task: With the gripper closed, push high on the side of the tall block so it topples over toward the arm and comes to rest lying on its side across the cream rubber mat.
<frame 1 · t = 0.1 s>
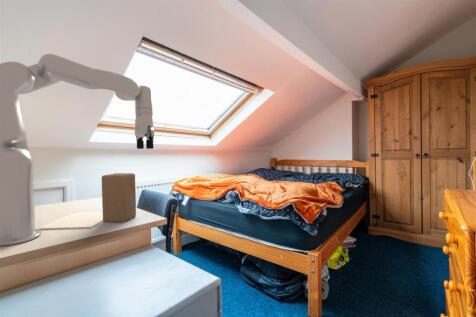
hand: (145, 148, 109), 31 cm above the table, tool pointing down, fingers open, 9 cm apart
block: (120, 219, 101), on the table
mat: (82, 220, 100), on the table
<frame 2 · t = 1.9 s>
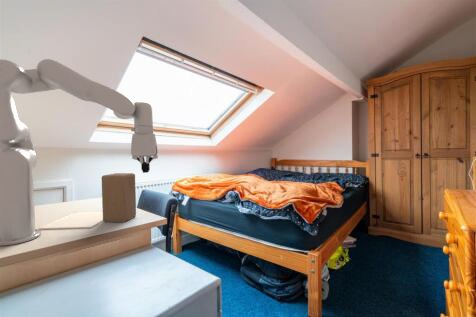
hand: (145, 172, 102), 21 cm above the table, tool pointing down, fingers closed
nothing on the table moved.
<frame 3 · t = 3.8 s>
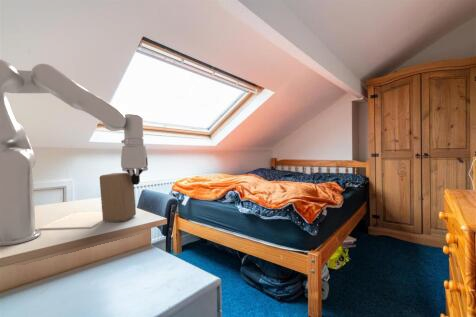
hand: (135, 184, 101), 15 cm above the table, tool pointing down, fingers closed
block: (120, 219, 101), on the table, touching gripper
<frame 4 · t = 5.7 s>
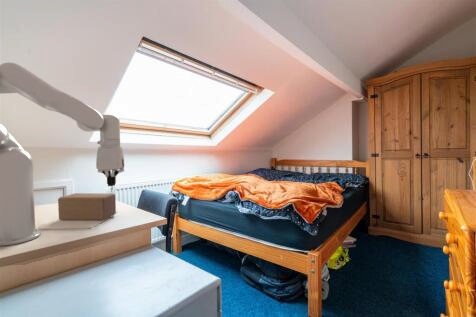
hand: (111, 185, 101), 15 cm above the table, tool pointing down, fingers closed
block: (110, 206, 102), point 6 cm above the table, touching mat
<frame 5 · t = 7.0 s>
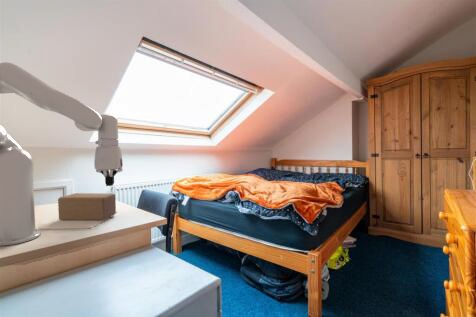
hand: (109, 185, 101), 15 cm above the table, tool pointing down, fingers closed
nothing on the table moved.
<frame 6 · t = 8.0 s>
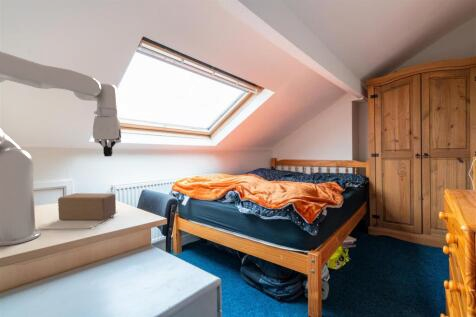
hand: (108, 156, 100), 28 cm above the table, tool pointing down, fingers closed
nothing on the table moved.
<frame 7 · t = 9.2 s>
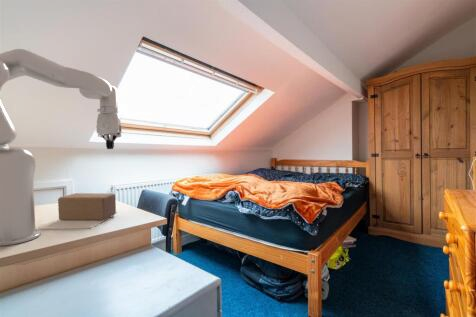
hand: (110, 148, 113), 31 cm above the table, tool pointing down, fingers closed
nothing on the table moved.
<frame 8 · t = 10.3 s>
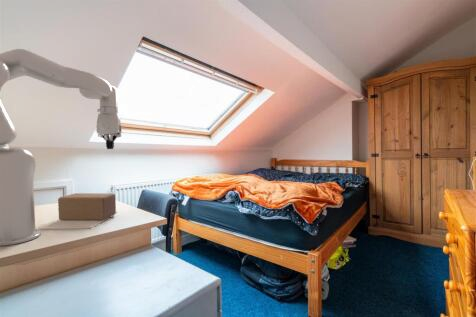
hand: (110, 148, 113), 31 cm above the table, tool pointing down, fingers closed
nothing on the table moved.
at the end: block tilted 90°; block touching mat; block inside the target area (1.9 cm from its centre), point 5.6 cm above the table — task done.
